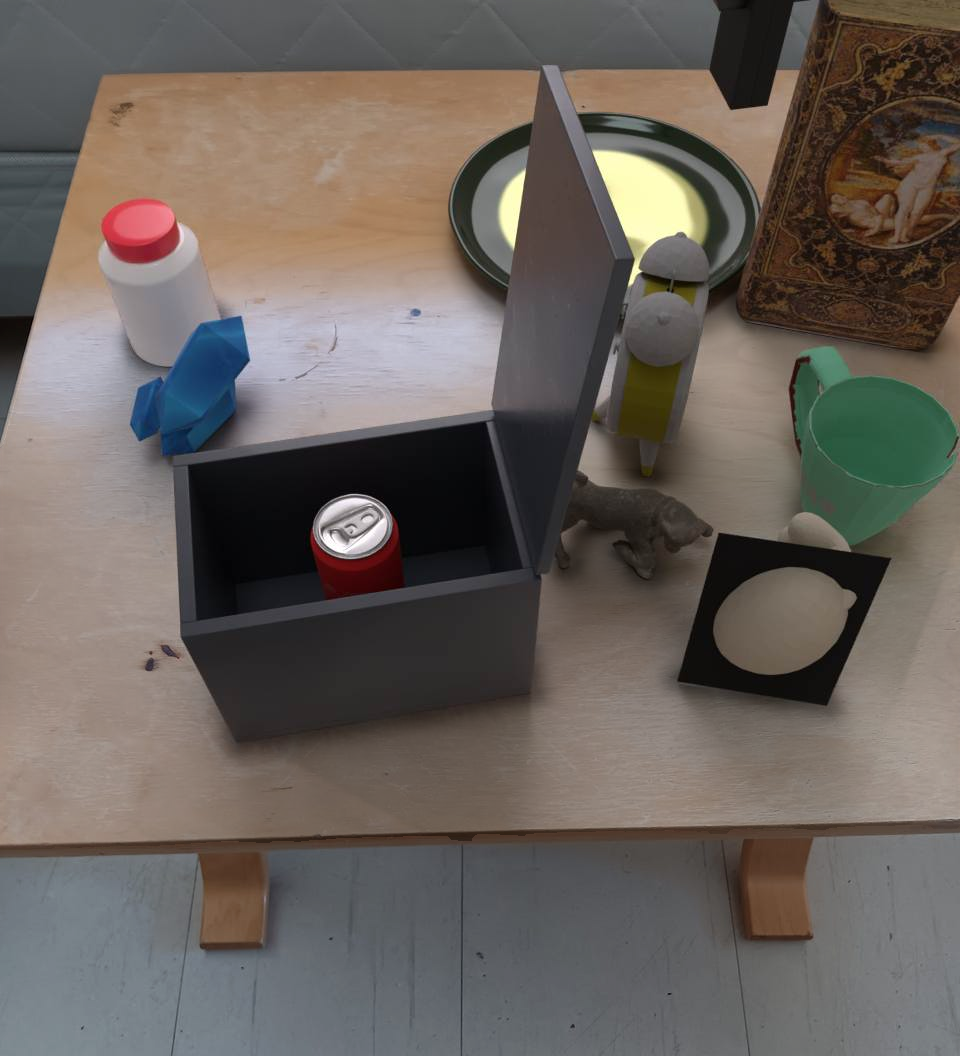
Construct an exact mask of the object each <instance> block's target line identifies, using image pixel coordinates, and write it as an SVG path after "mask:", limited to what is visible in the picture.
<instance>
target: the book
mask: <svg viewBox="0 0 960 1056" xmlns="http://www.w3.org/2000/svg"><path fill="white" fill-rule="evenodd" d="M817 3H818V4H817V7H816V11H815V14H814V18H813V21H812V25H811V29H810V32H809V35H808V39H807V43H806V46H805V50H804V54H803V57H802V61H801V64H800V68H799V70H798V75H797V78H796V82H795V86H794V89H793V93H792V96H791V101H790V104H789V107H788V111H787V115H786V118H785V122H784V125H783V129H782V132H781V136H780V139H779V142H778V146H777V150H776V153H775V158H774V160H773V165H772V168H771V172H770V176H769V178H768V183H767V186H766V189H765V193H764V197H763V200H762V204H761V206H760V207H761V211H760V214H759V218H758V222H757V225H756V229H755V232H754V236H753V240H752V243H751V247H750V250H749V254H748V257H747V261H746V265H745V267H744V268H743V272H742V275H741V280H740V282H739V286H738V290H737V294H736V297H735V309H736V311H737V313H738V315H739V317H740V318H741V319H742V320H743V321H745V322H746V323H751V324H756V325H757V324H758V325H763V326H768V327H775V328H780V329H787V330H792V331H798V332H804V333H807V334H808V333H809V334H814V335H820V336H826V337H831V338H837V339H843V340H849V341H855V342H860V343H867V344H873V345H877V346H885V347H890V348H899V349H906V350H912V351H925V350H928V349H929V348H930V347H932V346H933V345H934V343H935V342H936V341H937V339H938V338H939V337H940V335H941V333H942V331H943V329H944V327H945V325H946V324H947V321H948V320H949V317H950V316H951V313H952V312H953V310H954V308H955V306H956V304H957V302H958V300H959V298H960V0H818V2H817Z"/></svg>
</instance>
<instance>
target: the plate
mask: <svg viewBox="0 0 960 1056" xmlns="http://www.w3.org/2000/svg"><path fill="white" fill-rule="evenodd" d="M577 114H578V117H579V119H580V122H581V124H582V127H583V129H584V132H585V134H586V137H587V139H588V142H589V144H590V147H591V149H592V152H593V155H594V157H595V160H596V162H597V165H598V167H599V170H600V172H601V175H602V177H603V180H604V182H605V185H606V187H607V190H608V192H609V195H610V197H611V200H612V202H613V205H614V208H615V210H616V213H617V215H618V218H619V220H620V223H621V225H622V228H623V230H624V233H625V235H626V238H627V240H628V243H629V245H630V248H631V250H632V253H633V256H634V258H635V262H634V265H633V269H632V273H631V276H630V280H629V284H628V287H627V291H626V295H625V298H624V302H623V306H622V309H621V313H620V317H619V318H621V317H622V311H623V307H624V305H625V306H626V309H625V310H627V307H628V302H629V298H630V291H631V286H632V284H633V282H634V279H635V277H636V275H637V274H638V273H640V272H643V271H641V270H639V264H640V261H641V259H642V257H643V255H644V253H645V252H646V251H647V249H648V248H649V247H650V246H651V245H652V244H654V243H655V242H656V241H657V240H659V239H662V238H664V237H667V236H673V235H676V233H677V232H684V233H685V234H686V236H687V237H688V238H690V239H692V240H694V241H695V242H697V243H698V244H699V245H700V246H701V248H702V249H703V250H704V252H705V254H706V256H707V259H708V263H709V277H708V280H706V281H705V282H706V284H707V285H708V286H709V294H708V296H709V295H711V294H712V293H714V292H715V291H718V290H719V289H720V288H722V287H723V286H725V285H726V284H728V283H729V282H730V281H731V280H733V279H734V278H735V277H736V276H737V275H739V273H740V272H742V271H743V270H744V268H745V265H746V261H747V257H748V254H749V250H750V247H751V243H752V240H753V236H754V232H755V229H756V225H757V222H758V218H759V214H760V211H761V207H762V206H761V203H760V200H759V197H758V194H757V192H756V190H755V188H754V186H753V184H752V181H751V180H750V178H749V177H748V175H747V174H746V173H745V171H743V169H742V168H741V167H740V166H739V165H738V164H737V163H736V162H735V160H733V158H731V157H730V156H729V155H728V154H727V153H725V152H724V151H723V150H721V149H720V148H718V147H717V146H716V145H714V144H713V143H711V142H710V141H708V140H707V139H705V138H703V137H701V136H699V135H697V134H696V133H694V132H692V131H690V130H687V129H685V128H683V127H680V126H677V125H675V124H672V123H669V122H665V121H663V120H659V119H655V118H651V117H646V116H641V115H636V114H630V113H622V112H614V111H613V112H610V111H581V112H577ZM532 125H533V120H530V121H527V122H525V123H522V124H519V125H516V126H514V127H512V128H510V129H507V130H506V131H503V132H502V133H499V134H498V135H496V136H494V137H492V138H491V139H489V140H488V141H486V142H485V143H483V144H482V145H481V146H480V147H478V148H477V149H476V150H475V151H474V152H473V153H472V154H470V156H469V157H468V158H467V160H465V162H464V163H463V164H462V166H461V168H460V169H459V170H458V173H456V176H455V177H454V180H453V182H452V185H451V188H450V191H449V196H448V203H447V212H448V213H447V214H448V220H449V224H450V227H451V230H452V233H453V235H454V238H455V240H456V241H457V244H458V246H459V247H460V250H461V251H462V253H463V254H464V256H465V257H466V259H467V260H468V261H469V262H470V263H471V265H473V267H474V268H475V269H476V270H477V271H478V272H480V274H482V275H483V276H484V277H485V278H487V279H488V280H489V281H491V282H493V283H494V284H495V285H496V286H497V287H499V288H501V289H503V290H504V291H506V292H508V287H509V280H510V274H511V267H512V260H513V253H514V246H515V240H516V233H517V226H518V219H519V213H520V206H521V199H522V192H523V186H524V179H525V172H526V165H527V158H528V152H529V145H530V138H531V131H532ZM625 316H626V315H624V318H625Z"/></svg>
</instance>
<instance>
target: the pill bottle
mask: <svg viewBox="0 0 960 1056" xmlns="http://www.w3.org/2000/svg"><path fill="white" fill-rule="evenodd" d="M100 226H101V228H100V229H101V232H102V235H103V237H104V239H103V241H102V242H101V244H100V246H99V248H98V252H97V263H98V265H99V268H100V269H99V270H100V271H101V274H102V276H103V279H104V282H105V284H106V286H107V289H108V291H109V294H110V296H111V299H112V301H113V304H114V306H115V308H116V311H117V313H118V316H119V318H120V321H121V324H122V325H123V328H124V331H125V333H126V336H127V338H128V340H129V343H130V345H131V348H132V350H133V351H134V353H135V354H136V355H137V356H138V357H139V359H141V360H143V361H144V362H146V363H148V364H151V365H154V366H158V367H165V368H166V367H169V368H172V366H173V365H174V363H175V361H176V359H177V357H178V356H179V354H180V352H181V350H182V349H183V347H184V345H185V343H186V342H187V340H188V338H189V336H190V335H191V333H192V332H193V331H194V330H195V329H196V328H197V327H198V326H199V325H200V324H201V323H204V322H209V321H215V320H220V319H222V318H221V317H222V316H221V314H220V310H219V307H218V304H217V300H216V297H215V293H214V290H213V287H212V283H211V280H210V276H209V272H208V269H207V266H206V263H205V260H204V256H203V253H202V249H201V245H200V243H199V239H198V238H197V236H196V234H195V233H194V232H193V230H192V229H191V228H190V227H188V226H187V225H186V224H184V223H182V222H180V221H177V217H176V214H175V212H174V210H173V209H172V208H171V206H169V205H168V204H167V203H166V202H163V201H161V200H159V199H154V198H134V199H131V200H126V201H124V202H121V203H119V204H117V205H115V206H114V207H112V208H111V209H109V210H108V212H106V214H105V215H104V216H103V218H102V220H101V223H100Z"/></svg>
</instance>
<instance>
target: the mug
mask: <svg viewBox="0 0 960 1056" xmlns="http://www.w3.org/2000/svg"><path fill="white" fill-rule="evenodd" d="M820 387H821V389H822V391H821V392H820ZM788 395H789V397H788V398H789V405H790V413H791V420H792V430H793V437H794V439H793V440H794V443H795V446H796V449H797V452H798V455H799V458H800V461H801V462H800V491H801V492H800V493H801V495H800V496H801V497H800V498H801V499H800V500H801V506H802V512H808V513H812V514H815V515H817V516H819V517H821V518H822V519H823V520H825V521H826V522H827V523H828V524H830V525H831V526H832V527H833V528H834V529H835V530H836V531H837V532H838V533H839V534H840V535H841V536H842V537H843V538H844V539H845V540H846V542H847V543H848V545H849V547H854V546H856V545H859V544H860V543H862V542H864V541H866V540H868V539H870V538H871V537H872V538H873V536H876V535H877V534H879V533H881V532H883V531H884V530H886V528H888V527H890V526H891V525H893V524H894V523H895V522H897V521H898V520H900V519H901V518H902V517H903V516H904V515H905V514H906V513H907V512H908V511H909V510H910V509H911V508H912V507H913V506H915V505H916V504H917V503H918V502H919V501H920V500H921V499H922V498H924V497H925V496H926V495H927V494H929V493H930V492H931V491H932V490H933V489H935V487H936V486H937V485H938V484H939V483H940V482H941V481H942V480H944V478H945V477H946V476H947V475H948V474H949V473H950V472H951V470H952V469H953V467H954V466H955V464H956V461H957V457H958V454H959V453H958V451H955V452H954V450H956V448H957V445H958V441H959V438H960V432H959V428H958V426H957V424H956V422H955V420H954V418H953V416H952V415H951V413H950V411H949V410H948V409H947V408H946V407H944V405H943V404H942V403H940V401H939V400H938V399H937V398H936V397H935V396H933V395H931V394H930V393H929V392H926V391H925V390H924V389H922V388H921V387H918V386H917V385H915V384H913V383H909V382H906V381H904V380H901V379H897V378H895V377H890V376H889V377H888V376H879V375H871V374H868V375H867V374H866V375H860V376H853V374H852V372H851V371H850V369H849V366H848V364H847V363H846V360H844V358H843V357H842V355H841V354H840V352H839V351H838V350H837V348H836V347H835V346H832V345H829V346H828V345H826V346H820V347H813V348H807V349H805V350H804V351H801V352H800V353H799V354H798V356H797V357H796V359H795V362H794V365H793V370H792V374H791V377H790V381H789V385H788ZM953 452H954V453H953Z"/></svg>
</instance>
